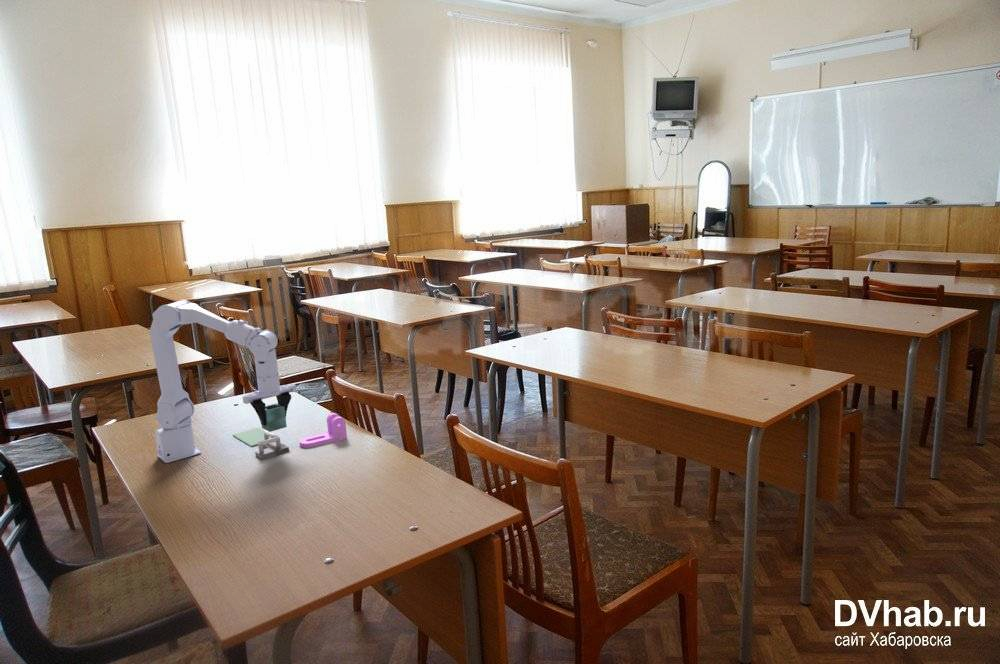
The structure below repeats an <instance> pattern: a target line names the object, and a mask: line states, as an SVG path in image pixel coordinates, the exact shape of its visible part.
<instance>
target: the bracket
mask: <svg viewBox="0 0 1000 664" xmlns="http://www.w3.org/2000/svg"><path fill="white" fill-rule="evenodd" d="M326 424H327V431H326V432H325V433H319V434H316V435H310V436H306V437H303V438H301V439H299V447H300V448H304V449H307V448H314V447H318V446H322V445H326V444H330V443H334V441H335V442H339V441H342V440H341V439H343V440H345V439H344V438H347V439H348V436H347V435H348V434H347V424H346V419H345V418H343V417H342V416H340V415H339V414H338V413H336V412H332V413H329V414H328V416H327V417H326ZM338 440H339V441H338Z"/></svg>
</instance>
